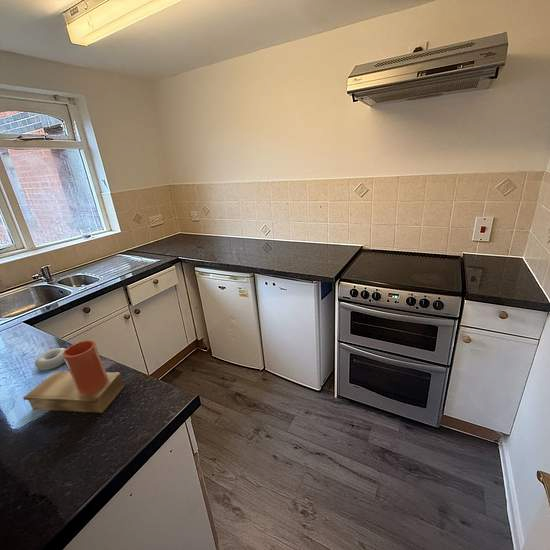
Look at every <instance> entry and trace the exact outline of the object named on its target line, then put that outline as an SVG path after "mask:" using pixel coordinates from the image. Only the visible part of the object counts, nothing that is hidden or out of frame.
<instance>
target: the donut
mask: <svg viewBox="0 0 550 550" xmlns="http://www.w3.org/2000/svg"><path fill="white" fill-rule="evenodd" d="M65 349H66V348H64V347H58V348H52V349H50V350H48V351H45V352H44V353H42V354H40V355H39V356H38V357H37V358H36V359H35V360H34V361H35V362H34V366H35V369H38V370H41V371H49V370H53V369H56V368H57V367H59V366H61V365H63V364H64V363H66V362H65V360H64V357H63V352H64V350H65Z"/></svg>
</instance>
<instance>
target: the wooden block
mask: <svg viewBox="0 0 550 550" xmlns="http://www.w3.org/2000/svg"><path fill="white" fill-rule="evenodd" d="M105 372H106V374H107V377H108V381H107V383H106V384H105V385H104V386H103V387H102V388H100V389H99V390H97V391H95V392H92V393H89V394H81V393H79V392H78V390H77V388H76V385H75V383H74V381H73V378H72V376H71V374H70V371H69V370H68V371H67V370H65V371H64V370H63V371H62V370H55V371H54V372H53V373H52V374H50V375H49V376H48V377H46V378H45V379H44V380H42V382H40V383H39V384H38V385H37V386H36V387H34V388H33V389H32V390H31V391H30V392H28V393H26V394H25V396H23V397H22V398H23V400H24V401H28V402H29V405H30V407H31V409H32V410H41V411H58V412H59V411H60V412H79V413H80V412H82V413H100V414H101V413H104V412H105V411H106V409H108V407H109V406H110V405H111V403H113V401H114V400H115V399H116V397H117V396H119V394H120V393H121V392H122V390H123V389H124V388H125V387H126V385H125V382H124V379H123V376H122V374H121V372H110V371H109V372H108V371H105Z"/></svg>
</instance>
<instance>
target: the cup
mask: <svg viewBox="0 0 550 550" xmlns="http://www.w3.org/2000/svg"><path fill="white" fill-rule="evenodd" d="M63 357H64V360H65V362H64V363H65V364H66V366H67V369H68V371H70V374H71V376H72V378H73V381H74V383H75V385H76V388H77V390H78V392H79V393H81V394H89V393H92V392H95V391H97V390H99V389H100V388H102V387H103V386H104V385H105V384H106V383H107V381H108V377H107V374H106V372H107V371H106V369H105V366H104V364H103V360H102V359H101V356H100V352H99V350H98V347H97V345H96V342H95V340H92V339H91V340H90V339H88V340H86V339H85V340H82V341H79V342H76V343H73V344H72V345H69V346H68V347H66V348H65V350H64V352H63Z"/></svg>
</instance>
